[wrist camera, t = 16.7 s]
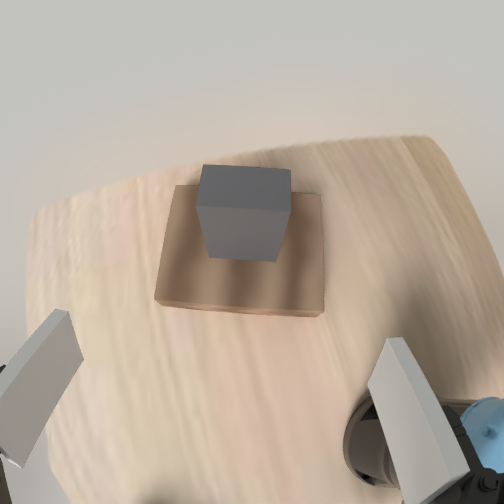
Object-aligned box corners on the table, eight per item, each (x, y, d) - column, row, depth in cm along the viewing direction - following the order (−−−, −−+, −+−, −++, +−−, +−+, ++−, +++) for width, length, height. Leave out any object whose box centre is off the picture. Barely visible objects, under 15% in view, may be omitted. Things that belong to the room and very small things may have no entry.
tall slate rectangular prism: (276, 226, 38) (290, 166, 26) (275, 262, 36) (290, 211, 25) (213, 222, 37) (203, 161, 26) (209, 257, 36) (195, 205, 24)
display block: (314, 209, 43) (320, 194, 40) (316, 317, 37) (324, 311, 34) (180, 200, 43) (175, 185, 39) (162, 305, 37) (154, 298, 33)
